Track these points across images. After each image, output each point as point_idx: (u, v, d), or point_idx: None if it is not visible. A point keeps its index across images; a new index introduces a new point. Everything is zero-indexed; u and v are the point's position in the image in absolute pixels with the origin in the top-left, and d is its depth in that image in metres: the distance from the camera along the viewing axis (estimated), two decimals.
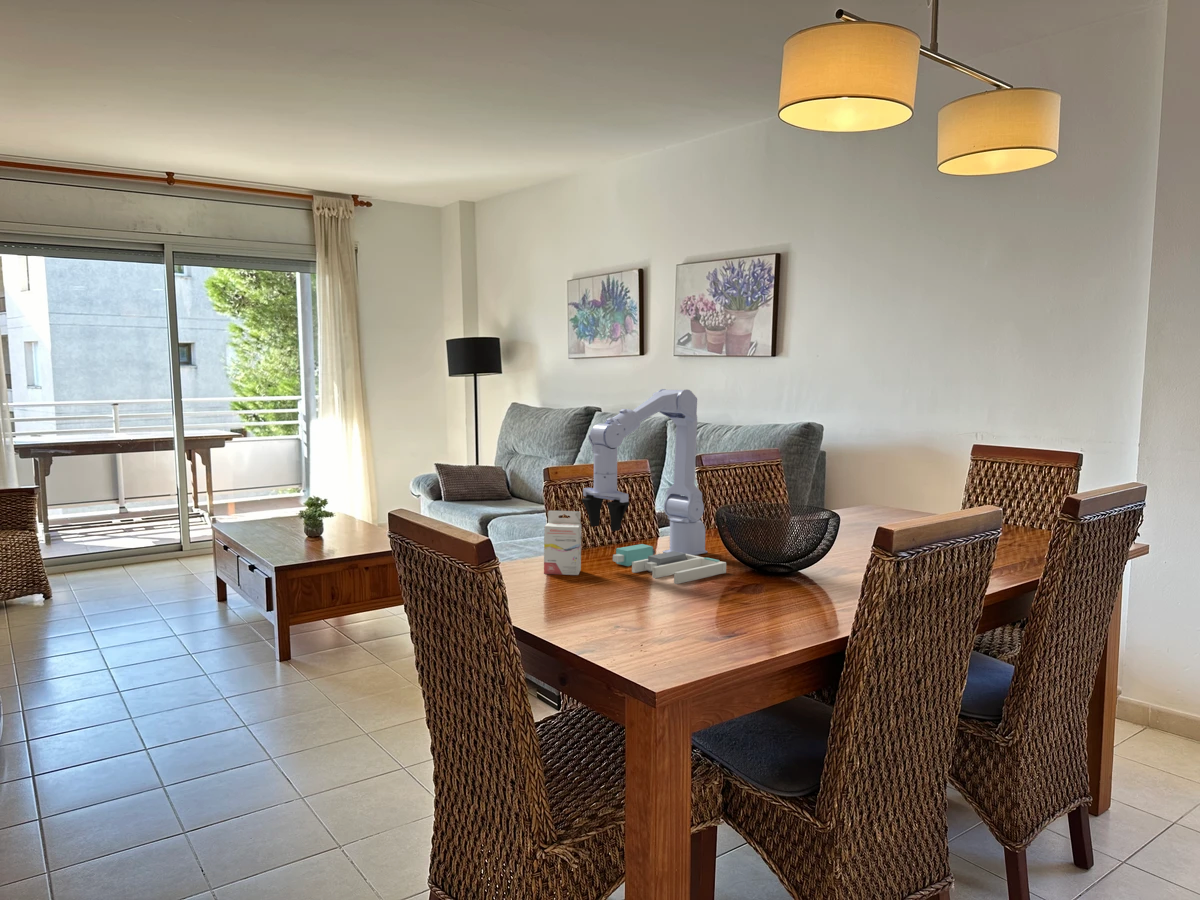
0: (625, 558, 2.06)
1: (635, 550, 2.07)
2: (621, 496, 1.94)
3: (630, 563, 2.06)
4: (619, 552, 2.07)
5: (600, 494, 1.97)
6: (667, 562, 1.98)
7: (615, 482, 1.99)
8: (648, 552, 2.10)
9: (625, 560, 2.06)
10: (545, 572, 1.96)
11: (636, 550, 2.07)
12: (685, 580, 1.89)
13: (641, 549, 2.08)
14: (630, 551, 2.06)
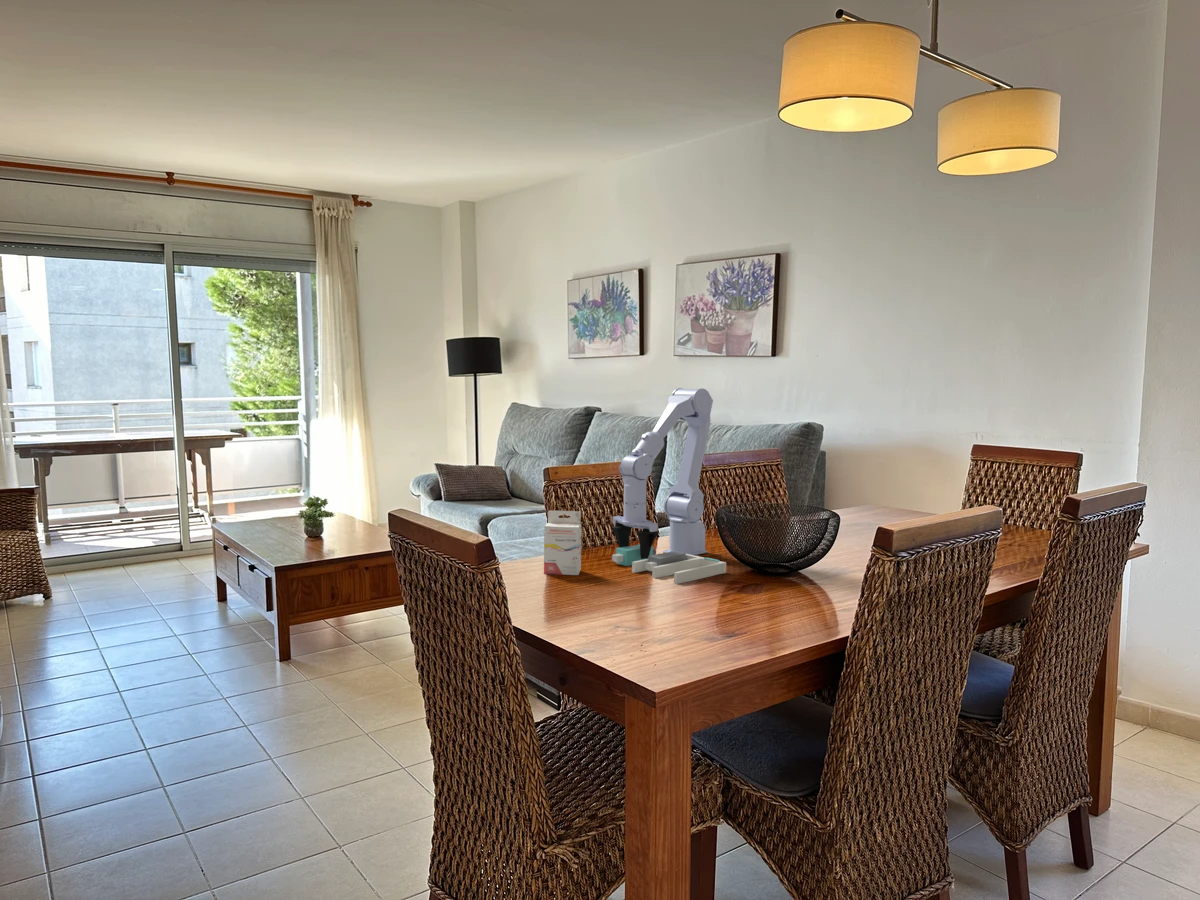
0: (624, 558, 2.06)
1: (635, 550, 2.07)
2: (651, 526, 2.03)
3: (629, 563, 2.06)
4: (619, 552, 2.07)
5: (630, 523, 2.06)
6: (667, 562, 1.98)
7: (644, 512, 2.07)
8: None
9: (624, 560, 2.06)
10: (545, 572, 1.96)
11: (636, 550, 2.07)
12: (685, 580, 1.89)
13: None
14: (629, 551, 2.06)
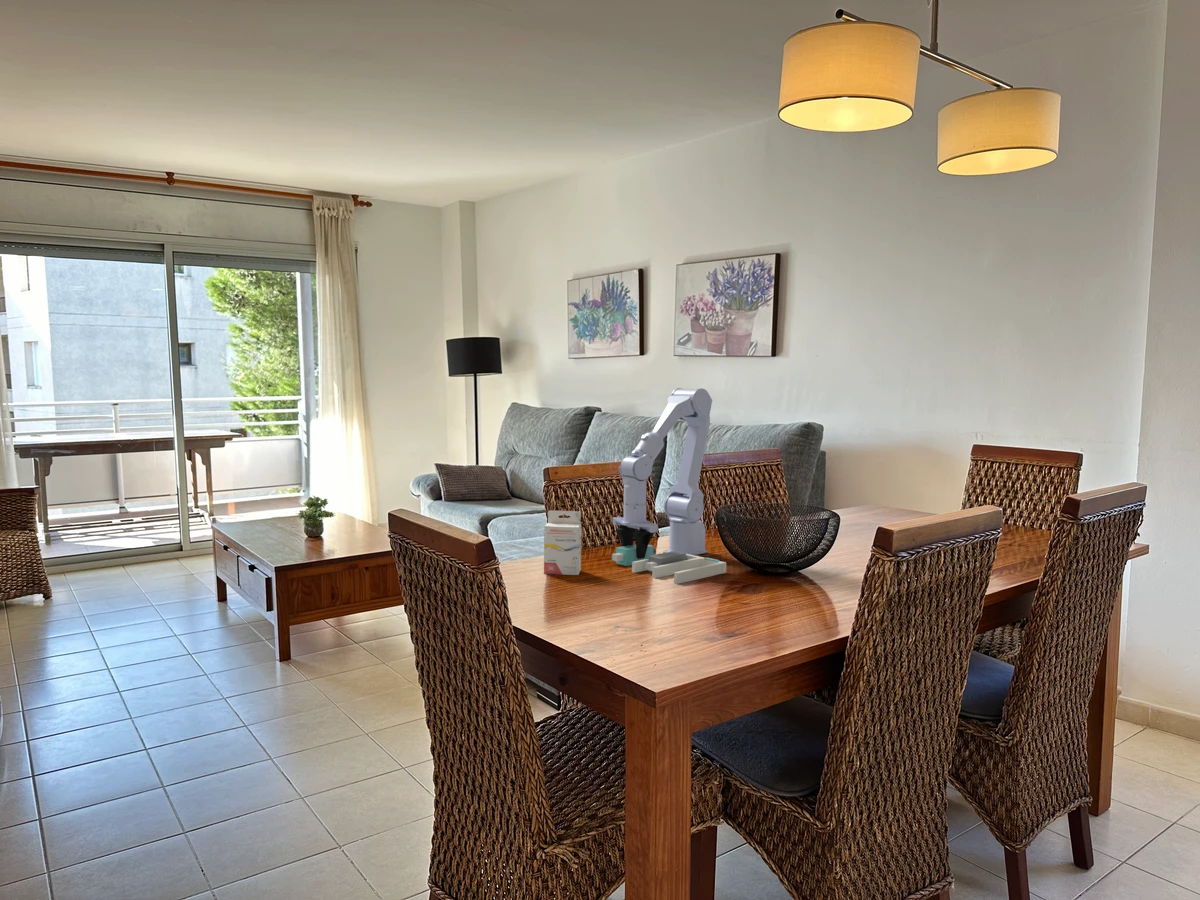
0: (624, 557, 2.06)
1: (635, 549, 2.07)
2: (651, 526, 2.03)
3: (629, 562, 2.06)
4: (619, 551, 2.07)
5: (630, 524, 2.06)
6: (667, 562, 1.98)
7: (644, 512, 2.07)
8: (648, 551, 2.10)
9: (624, 559, 2.06)
10: (545, 572, 1.96)
11: None
12: (685, 580, 1.89)
13: None
14: (629, 550, 2.06)
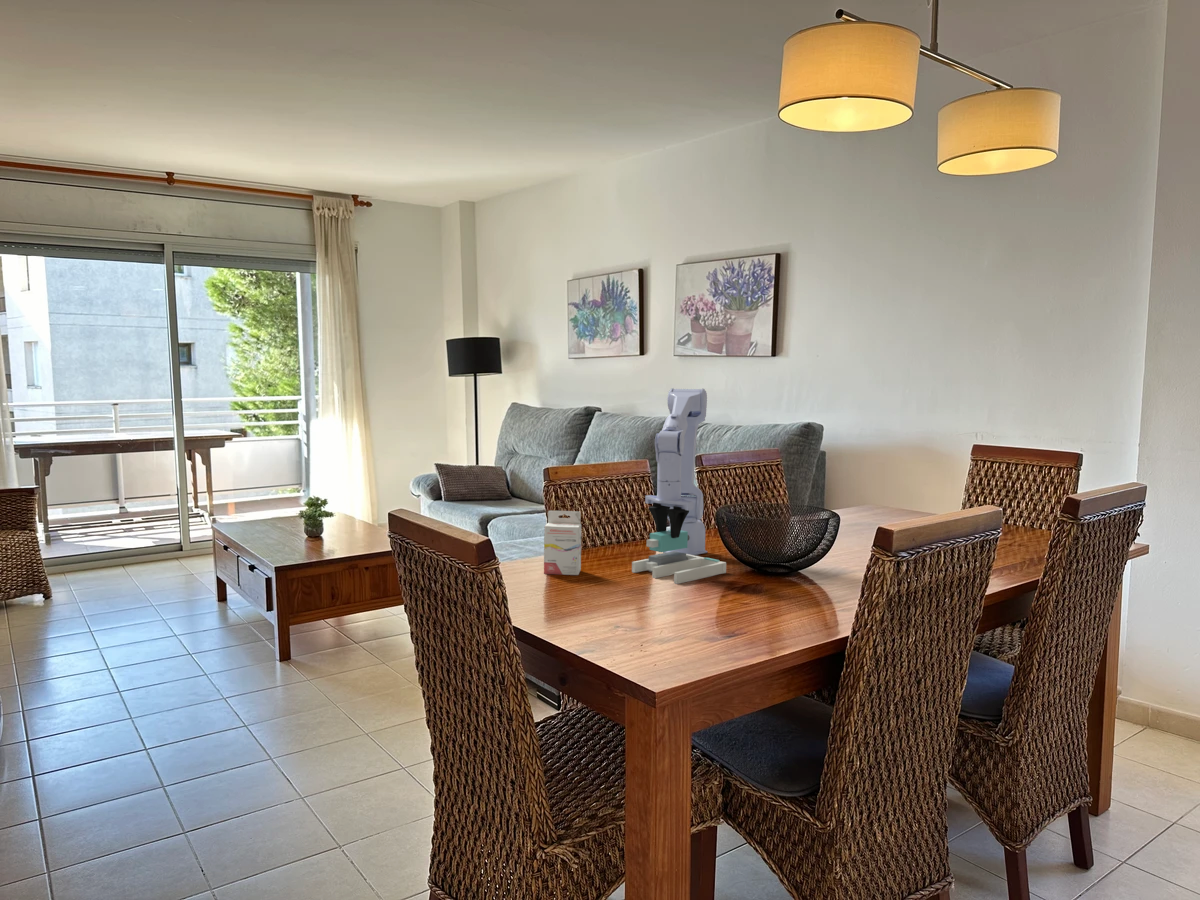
0: (659, 543, 1.96)
1: (670, 535, 1.98)
2: (686, 504, 1.93)
3: (665, 548, 1.97)
4: (653, 537, 1.98)
5: (664, 502, 1.96)
6: (667, 562, 1.98)
7: (679, 490, 1.98)
8: (683, 537, 2.01)
9: (659, 545, 1.96)
10: (545, 572, 1.96)
11: None
12: (685, 580, 1.89)
13: None
14: (665, 536, 1.96)
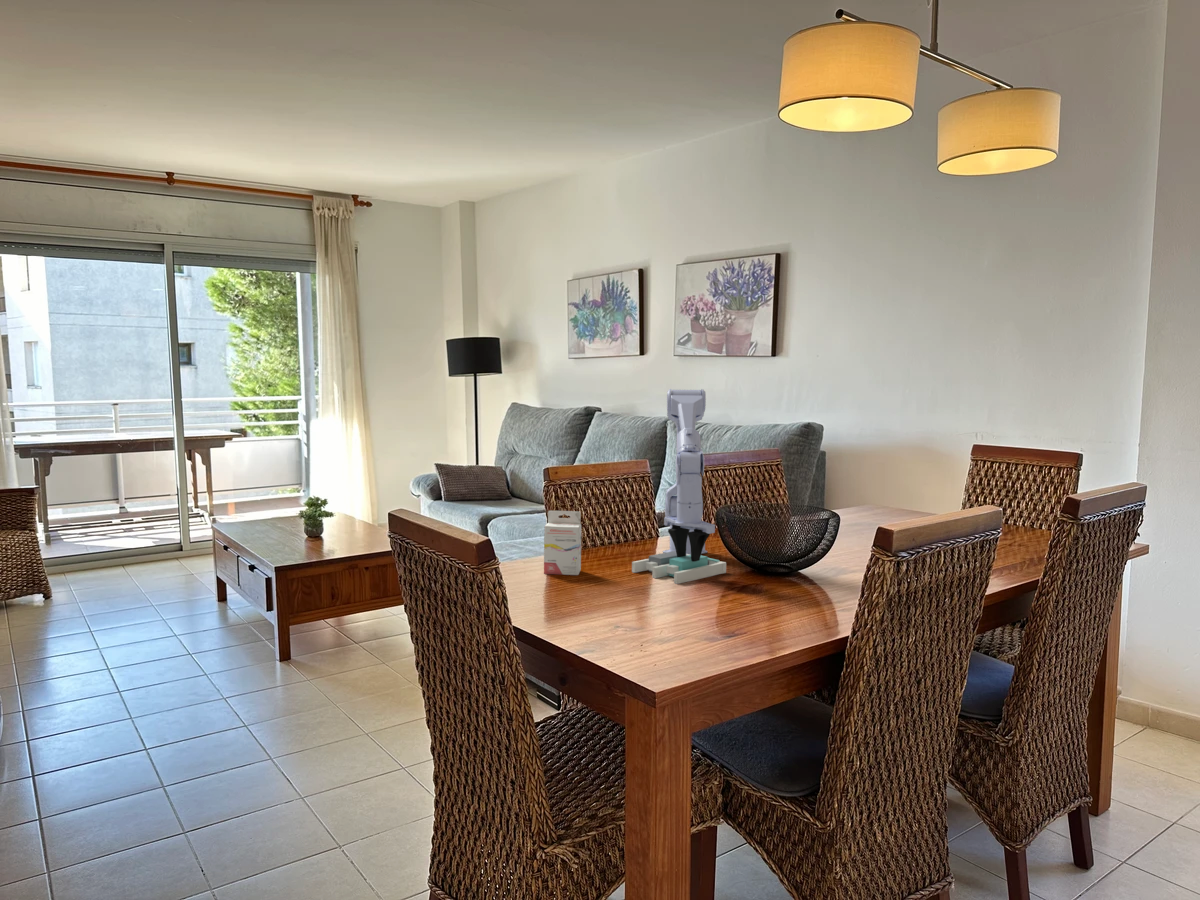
0: (679, 569, 1.92)
1: (690, 561, 1.93)
2: (708, 527, 1.89)
3: None
4: (673, 563, 1.93)
5: (685, 524, 1.92)
6: (668, 562, 1.98)
7: (700, 512, 1.93)
8: (703, 563, 1.96)
9: None
10: (545, 572, 1.96)
11: (691, 561, 1.93)
12: (685, 580, 1.89)
13: None
14: (685, 562, 1.92)
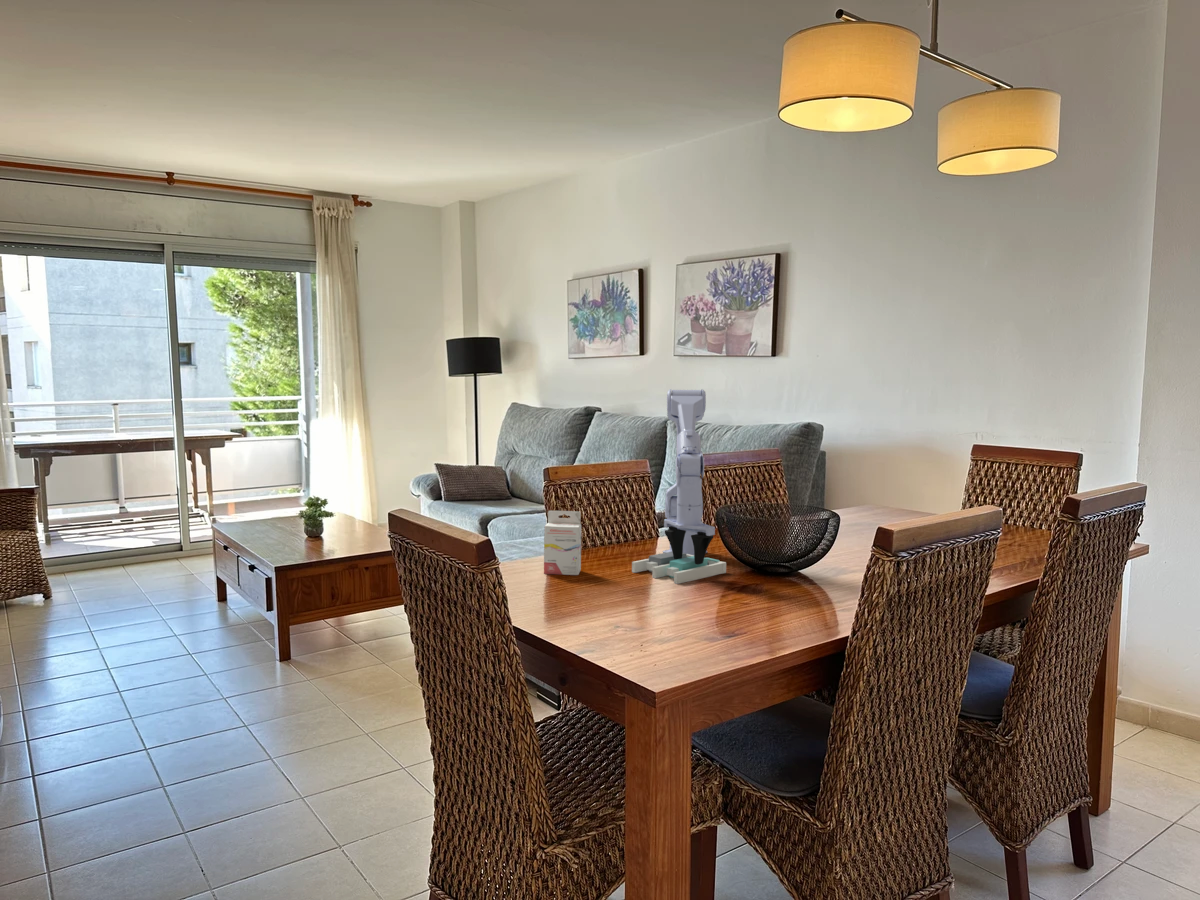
0: None
1: (690, 563, 1.93)
2: (708, 529, 1.89)
3: None
4: (673, 565, 1.93)
5: (685, 527, 1.92)
6: (668, 562, 1.98)
7: (700, 514, 1.93)
8: (703, 565, 1.96)
9: None
10: (545, 572, 1.96)
11: (691, 563, 1.93)
12: (685, 580, 1.89)
13: None
14: (685, 564, 1.92)
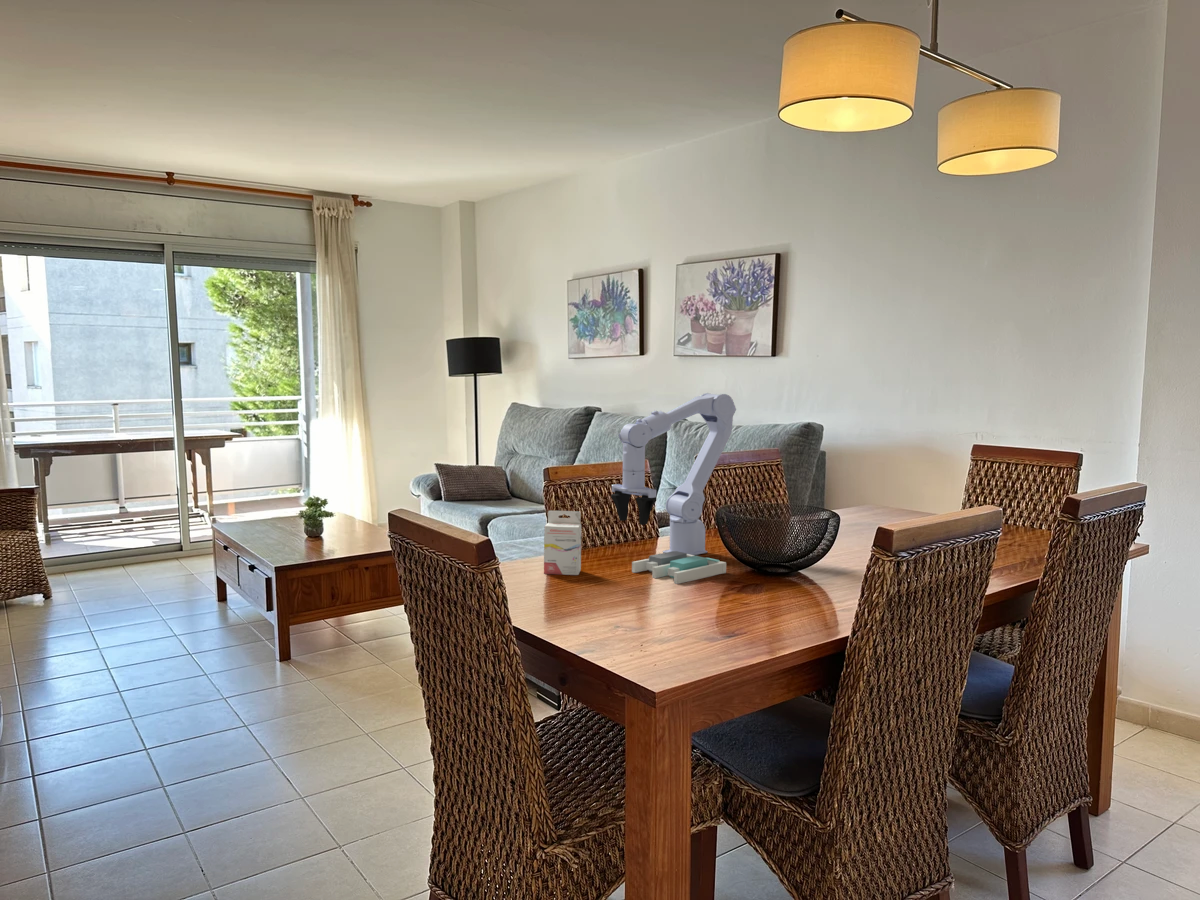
0: None
1: (691, 563, 1.93)
2: (649, 492, 2.07)
3: None
4: (674, 565, 1.93)
5: (629, 490, 2.10)
6: (668, 562, 1.98)
7: (643, 479, 2.11)
8: (703, 564, 1.96)
9: None
10: (545, 572, 1.96)
11: (692, 563, 1.93)
12: (685, 580, 1.89)
13: (696, 561, 1.95)
14: (686, 564, 1.92)
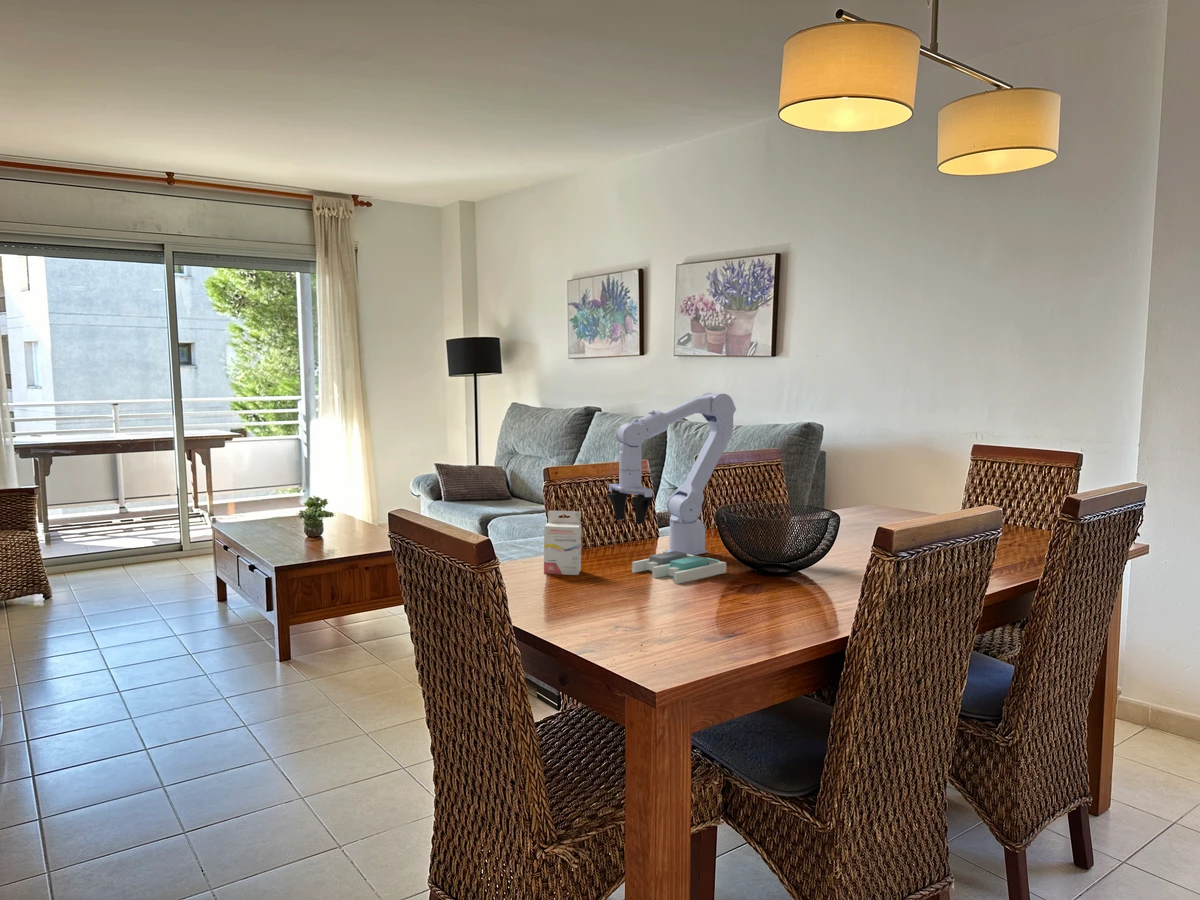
0: None
1: (691, 563, 1.93)
2: (645, 491, 2.08)
3: None
4: (674, 565, 1.93)
5: (626, 489, 2.11)
6: (668, 562, 1.98)
7: (639, 478, 2.12)
8: (703, 564, 1.96)
9: None
10: (545, 572, 1.96)
11: (692, 563, 1.93)
12: (685, 580, 1.89)
13: (696, 561, 1.95)
14: (686, 564, 1.92)
